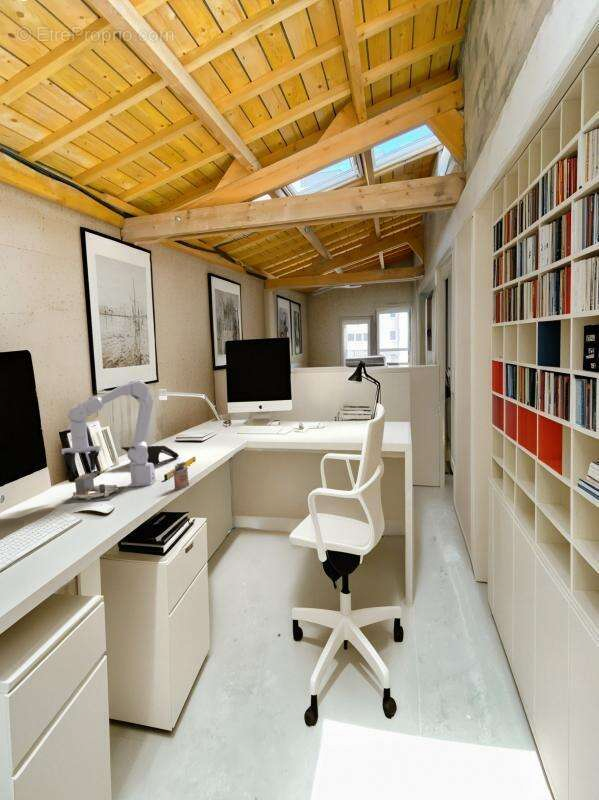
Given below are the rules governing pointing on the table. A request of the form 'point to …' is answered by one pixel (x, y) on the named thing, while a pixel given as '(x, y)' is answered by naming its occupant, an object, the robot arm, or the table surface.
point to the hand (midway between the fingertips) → (83, 470)
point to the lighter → (181, 476)
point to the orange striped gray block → (84, 483)
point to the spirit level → (170, 474)
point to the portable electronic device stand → (156, 453)
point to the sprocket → (97, 492)
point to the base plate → (72, 500)
